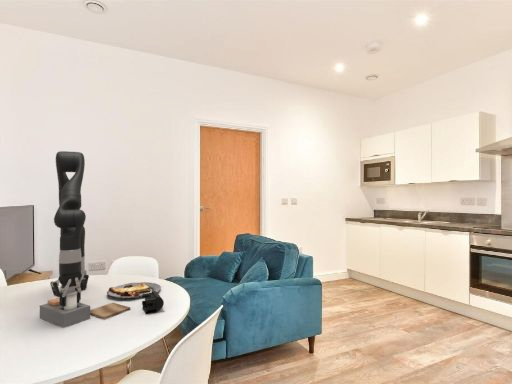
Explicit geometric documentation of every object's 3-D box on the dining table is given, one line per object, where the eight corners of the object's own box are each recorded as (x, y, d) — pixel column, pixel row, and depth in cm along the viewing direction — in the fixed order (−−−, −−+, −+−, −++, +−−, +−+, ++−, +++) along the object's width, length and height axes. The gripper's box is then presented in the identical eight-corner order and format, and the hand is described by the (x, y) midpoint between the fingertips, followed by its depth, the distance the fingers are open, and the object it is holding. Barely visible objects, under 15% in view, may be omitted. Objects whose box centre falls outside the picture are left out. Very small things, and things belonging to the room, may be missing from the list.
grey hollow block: (65, 309, 132) (65, 298, 132) (90, 318, 123) (90, 305, 123) (39, 318, 124) (39, 305, 124) (64, 327, 115) (64, 314, 115)
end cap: (163, 311, 130) (163, 295, 130) (146, 315, 126) (146, 298, 126) (158, 304, 138) (158, 289, 139) (141, 307, 135) (141, 292, 135)
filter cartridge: (73, 316, 125) (73, 289, 125) (80, 319, 122) (79, 291, 122) (60, 321, 121) (60, 292, 121) (67, 323, 118) (67, 294, 118)
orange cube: (61, 308, 130) (61, 296, 130) (68, 310, 127) (68, 298, 127) (47, 312, 125) (47, 300, 125) (54, 315, 123) (54, 302, 123)
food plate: (113, 304, 138) (114, 296, 138) (101, 292, 156) (101, 285, 156) (167, 294, 154) (167, 287, 154) (150, 284, 172) (150, 278, 172)
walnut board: (112, 304, 138) (112, 302, 138) (130, 309, 132) (130, 307, 132) (86, 313, 128) (86, 311, 128) (104, 319, 122) (104, 317, 122)
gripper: (55, 265, 114) (56, 312, 113) (93, 258, 126) (93, 300, 126) (45, 263, 117) (45, 308, 117) (82, 256, 130) (83, 297, 130)
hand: (70, 303), depth 122 cm, fingers closed on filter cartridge, 4 cm apart
